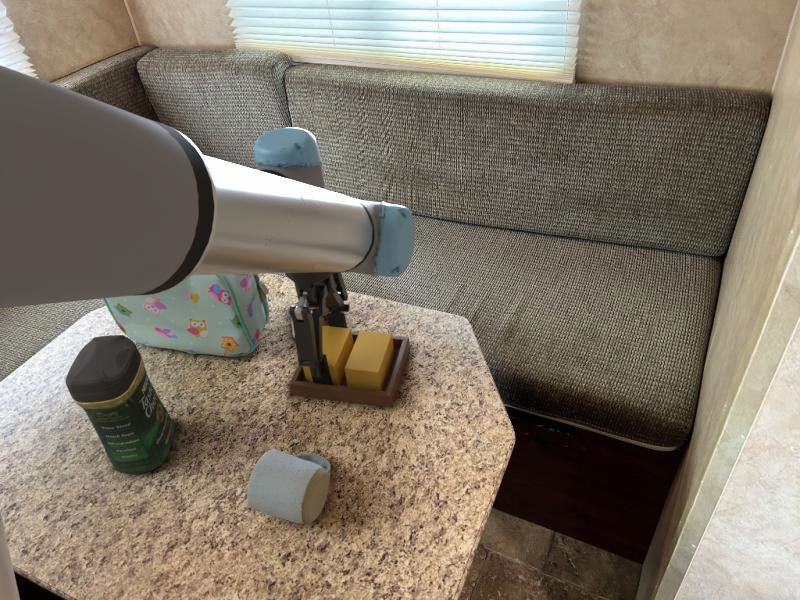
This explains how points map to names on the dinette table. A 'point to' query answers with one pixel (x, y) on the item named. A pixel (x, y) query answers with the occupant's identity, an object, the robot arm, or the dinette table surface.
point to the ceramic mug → (289, 485)
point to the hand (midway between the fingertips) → (332, 364)
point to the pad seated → (370, 360)
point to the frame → (355, 394)
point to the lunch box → (197, 315)
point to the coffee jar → (121, 403)
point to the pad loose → (335, 352)
